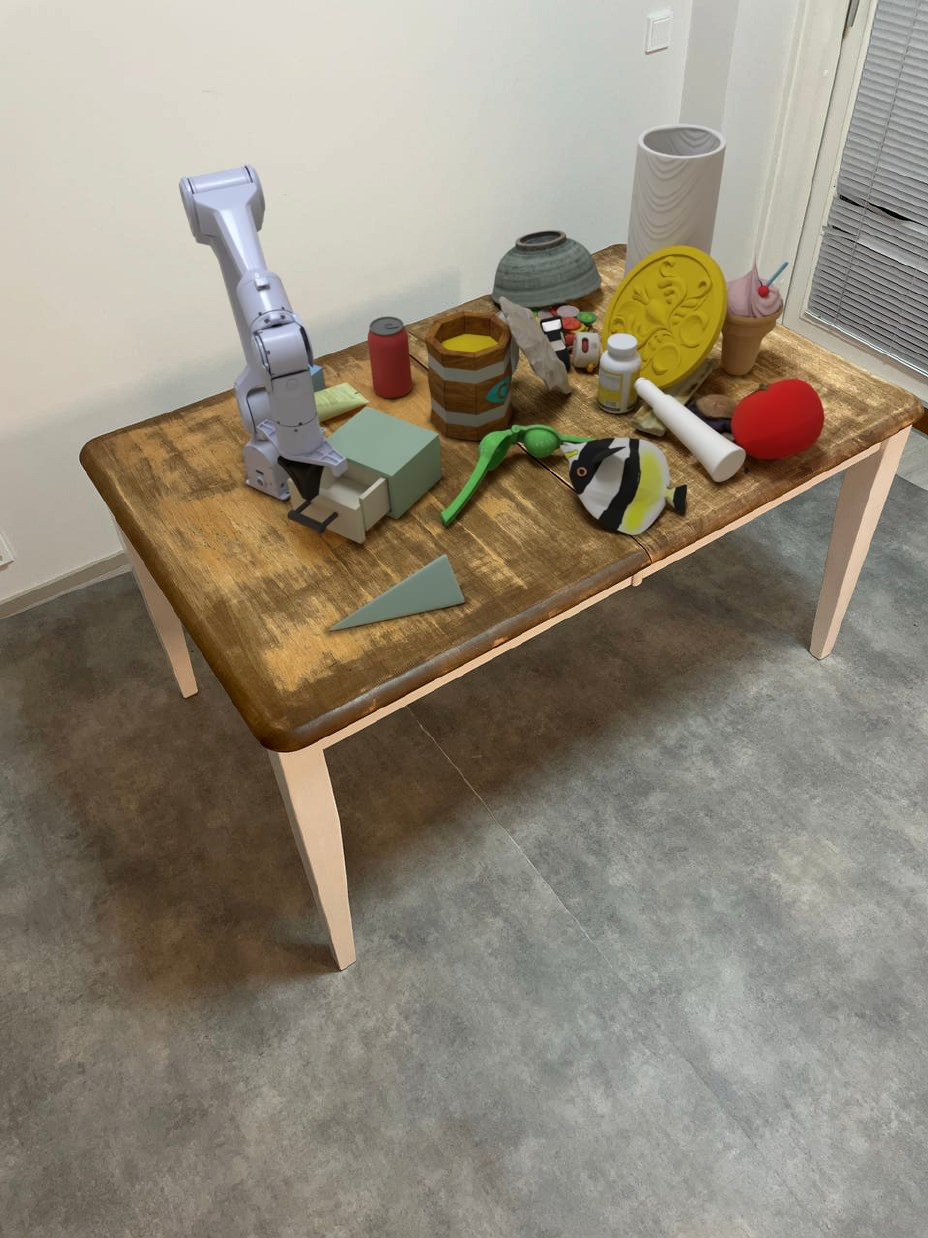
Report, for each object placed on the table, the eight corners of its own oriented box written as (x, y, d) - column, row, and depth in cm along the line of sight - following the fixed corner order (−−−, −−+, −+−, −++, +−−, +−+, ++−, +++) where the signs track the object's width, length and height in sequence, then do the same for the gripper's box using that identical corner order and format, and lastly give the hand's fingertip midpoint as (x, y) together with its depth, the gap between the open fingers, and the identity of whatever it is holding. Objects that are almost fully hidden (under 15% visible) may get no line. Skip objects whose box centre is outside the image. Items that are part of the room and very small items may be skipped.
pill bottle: (636, 393, 161) (644, 330, 153) (636, 416, 157) (643, 352, 148) (597, 391, 162) (602, 329, 153) (595, 414, 158) (601, 351, 149)
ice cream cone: (767, 352, 168) (791, 240, 153) (770, 388, 161) (796, 274, 146) (703, 349, 169) (721, 238, 155) (703, 384, 162) (722, 271, 147)
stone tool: (590, 414, 159) (519, 330, 139) (568, 424, 160) (495, 343, 140) (576, 358, 164) (506, 269, 144) (555, 368, 166) (483, 282, 145)
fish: (576, 400, 134) (559, 498, 130) (709, 433, 136) (697, 531, 132) (554, 438, 146) (538, 529, 142) (677, 468, 148) (664, 559, 144)
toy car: (572, 371, 166) (571, 364, 164) (549, 376, 167) (548, 369, 164) (562, 320, 169) (561, 311, 166) (539, 324, 169) (538, 317, 167)
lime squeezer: (446, 528, 140) (443, 494, 135) (413, 482, 147) (410, 448, 142) (645, 461, 148) (649, 427, 144) (605, 421, 156) (608, 387, 151)
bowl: (512, 220, 189) (519, 271, 195) (464, 258, 175) (474, 311, 181) (613, 215, 180) (617, 269, 186) (571, 255, 166) (577, 312, 172)
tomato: (848, 441, 140) (826, 364, 137) (758, 476, 140) (734, 401, 138) (814, 436, 152) (793, 365, 149) (731, 468, 152) (709, 399, 150)
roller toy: (595, 355, 170) (600, 325, 166) (600, 375, 165) (605, 344, 161) (570, 355, 170) (574, 324, 165) (574, 374, 165) (578, 344, 161)
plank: (685, 361, 167) (687, 347, 165) (717, 369, 165) (719, 356, 163) (628, 432, 154) (629, 419, 152) (662, 443, 152) (664, 429, 150)
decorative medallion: (647, 420, 158) (640, 417, 157) (585, 332, 170) (577, 328, 169) (754, 306, 146) (748, 301, 145) (679, 219, 158) (671, 214, 157)
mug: (480, 451, 152) (477, 367, 141) (413, 422, 157) (406, 340, 147) (550, 392, 162) (553, 309, 151) (485, 367, 168) (483, 286, 157)
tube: (260, 453, 156) (361, 412, 164) (267, 443, 151) (371, 401, 160) (243, 421, 155) (346, 382, 164) (250, 410, 151) (355, 370, 159)
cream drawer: (341, 561, 135) (335, 527, 130) (275, 530, 140) (267, 496, 135) (404, 502, 143) (401, 468, 138) (339, 475, 148) (333, 441, 143)
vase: (657, 292, 183) (678, 115, 160) (716, 321, 175) (747, 139, 152) (603, 319, 177) (617, 139, 154) (662, 350, 169) (685, 166, 146)
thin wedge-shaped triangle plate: (354, 665, 122) (471, 593, 125) (327, 623, 123) (445, 552, 126) (354, 673, 130) (465, 605, 133) (329, 633, 131) (440, 566, 134)
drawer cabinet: (396, 519, 141) (391, 476, 136) (325, 488, 147) (317, 445, 141) (442, 477, 148) (439, 433, 142) (371, 448, 153) (366, 405, 147)
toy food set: (505, 340, 174) (504, 323, 171) (544, 308, 181) (544, 291, 178) (568, 362, 168) (569, 345, 166) (607, 328, 175) (608, 311, 173)
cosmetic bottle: (744, 441, 140) (650, 359, 151) (711, 467, 140) (620, 383, 152) (748, 464, 145) (657, 382, 156) (716, 489, 145) (627, 405, 157)
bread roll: (673, 421, 155) (675, 401, 153) (700, 396, 160) (703, 377, 157) (732, 445, 150) (736, 425, 148) (759, 419, 155) (763, 399, 152)
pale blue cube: (310, 400, 163) (306, 379, 160) (291, 393, 165) (287, 372, 162) (326, 388, 165) (322, 367, 162) (307, 381, 167) (303, 360, 164)
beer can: (411, 399, 162) (405, 335, 154) (372, 400, 163) (364, 336, 154) (413, 377, 167) (407, 313, 158) (375, 378, 167) (367, 314, 158)
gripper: (358, 417, 122) (369, 500, 132) (276, 380, 128) (293, 462, 138) (319, 445, 118) (334, 528, 128) (237, 405, 125) (257, 488, 135)
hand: (310, 496), depth 133 cm, fingers closed
